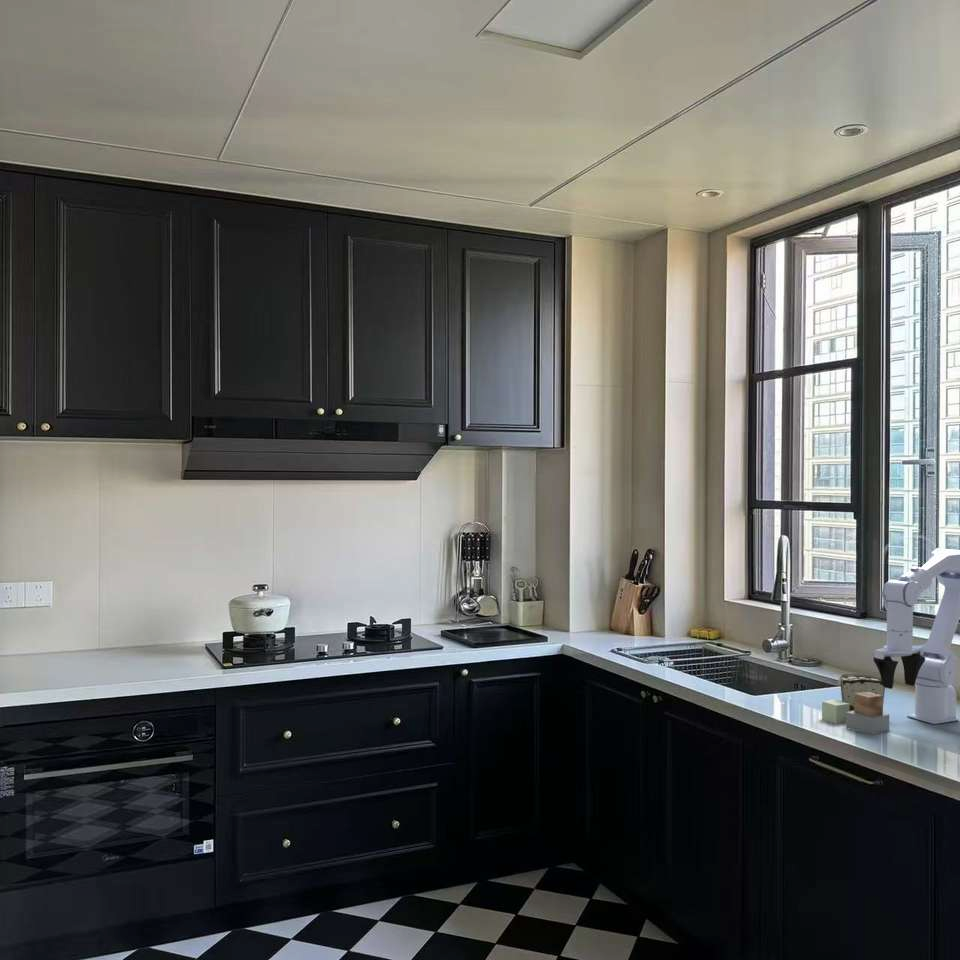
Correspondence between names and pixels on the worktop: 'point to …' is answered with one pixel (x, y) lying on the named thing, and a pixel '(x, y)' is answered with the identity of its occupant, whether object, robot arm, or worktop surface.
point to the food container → (859, 686)
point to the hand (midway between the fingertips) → (898, 686)
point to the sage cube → (835, 710)
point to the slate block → (867, 722)
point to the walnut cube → (868, 703)
